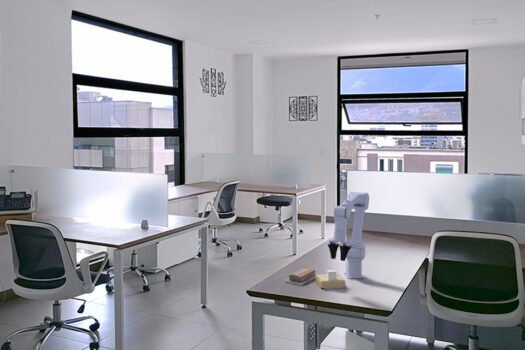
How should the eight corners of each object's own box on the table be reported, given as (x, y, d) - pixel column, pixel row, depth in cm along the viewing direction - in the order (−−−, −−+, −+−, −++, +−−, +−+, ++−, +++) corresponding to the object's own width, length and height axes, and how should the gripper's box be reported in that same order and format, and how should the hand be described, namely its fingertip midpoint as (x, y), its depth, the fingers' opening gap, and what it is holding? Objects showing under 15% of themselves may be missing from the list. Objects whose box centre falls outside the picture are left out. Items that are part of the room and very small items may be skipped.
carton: (315, 281, 255) (315, 274, 255) (338, 280, 256) (338, 273, 256) (320, 288, 243) (320, 281, 243) (345, 287, 245) (345, 280, 244)
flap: (318, 279, 249) (318, 269, 248) (341, 278, 250) (341, 268, 249) (321, 282, 243) (321, 272, 243) (344, 281, 244) (344, 272, 244)
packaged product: (302, 265, 268) (318, 268, 262) (302, 274, 268) (318, 277, 263) (284, 273, 253) (301, 277, 248) (284, 283, 254) (301, 286, 248)
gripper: (324, 229, 246) (322, 257, 245) (342, 231, 233) (340, 261, 232) (336, 230, 250) (334, 258, 248) (354, 232, 237) (352, 261, 236)
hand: (337, 259), depth 241 cm, fingers open, 7 cm apart
